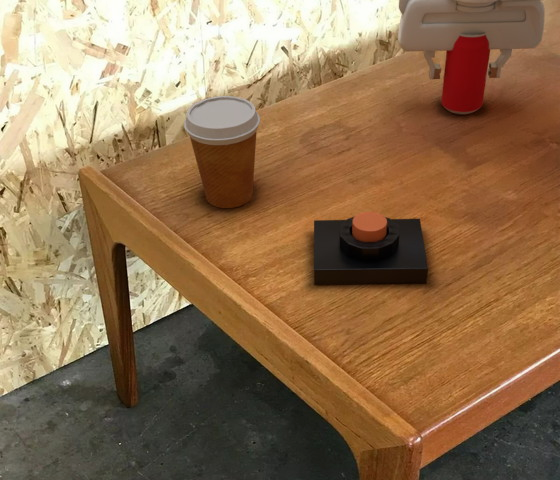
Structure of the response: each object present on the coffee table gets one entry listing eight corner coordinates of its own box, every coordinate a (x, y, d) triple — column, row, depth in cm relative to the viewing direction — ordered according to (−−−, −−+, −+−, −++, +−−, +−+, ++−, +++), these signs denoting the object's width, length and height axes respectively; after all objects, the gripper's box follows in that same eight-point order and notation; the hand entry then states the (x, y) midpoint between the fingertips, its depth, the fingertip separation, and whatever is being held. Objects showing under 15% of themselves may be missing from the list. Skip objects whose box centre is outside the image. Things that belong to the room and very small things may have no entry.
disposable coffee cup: (254, 171, 111) (248, 89, 102) (273, 207, 104) (268, 122, 96) (187, 184, 109) (176, 101, 101) (202, 221, 103) (191, 136, 94)
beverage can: (481, 98, 123) (493, 19, 115) (481, 117, 119) (493, 37, 111) (441, 97, 124) (449, 18, 116) (439, 115, 120) (448, 36, 112)
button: (385, 223, 94) (386, 211, 93) (387, 243, 92) (388, 230, 90) (351, 224, 95) (351, 211, 93) (352, 243, 92) (353, 231, 91)
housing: (418, 233, 99) (421, 205, 96) (426, 283, 92) (429, 255, 89) (314, 234, 99) (313, 207, 97) (314, 284, 92) (313, 257, 90)
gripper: (402, -11, 107) (395, 88, 117) (556, -15, 106) (536, 85, 116) (398, -27, 111) (392, 69, 121) (546, -32, 110) (528, 66, 120)
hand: (463, 77), depth 118 cm, fingers open, 7 cm apart
